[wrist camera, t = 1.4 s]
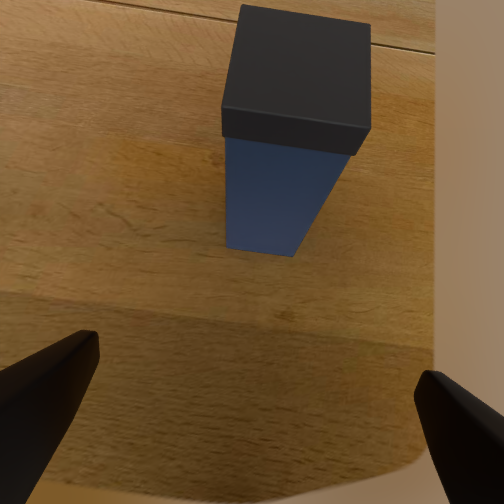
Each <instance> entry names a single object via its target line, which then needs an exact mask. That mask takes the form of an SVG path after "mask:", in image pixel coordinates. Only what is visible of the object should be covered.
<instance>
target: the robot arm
mask: <svg viewBox="0 0 504 504" xmlns="http://www.w3.org/2000/svg"><path fill="white" fill-rule="evenodd" d="M99 358H100V351H99V337H98V333H97V332H96V331H90V330H80V331H77V332H76V333H74V334H72V335H70V336H68V337H66V338H64V339H62V340H60V341H58V342H56V343H54V344H52V345H50V346H48V347H46V348H44V349H42V350H40V351H38V352H37V353H35V354H33V355H31V356H29V357H27V358H25V359H23V360H21V361H19V362H17V363H15V364H13V365H11V366H9V367H7V368H5V369H3V370H1V371H0V504H25V503H26V501H27V499H28V498H29V496H30V494H31V493H32V491H33V489H34V487H35V485H36V484H37V482H38V480H39V479H40V477H41V475H42V473H43V472H44V470H45V468H46V466H47V465H48V463H49V461H50V459H51V458H52V456H53V454H54V452H55V451H56V449H57V447H58V445H59V444H60V442H61V440H62V438H63V437H64V435H65V433H66V431H67V430H68V428H69V426H70V424H71V423H72V421H73V419H74V417H75V415H76V413H77V410H78V408H79V406H80V404H81V402H82V399H83V397H84V395H85V393H86V390H87V388H88V386H89V383H90V381H91V379H92V377H93V374H94V372H95V370H96V368H97V365H98V363H99ZM414 402H415V405H416V408H417V412H418V415H419V418H420V422H421V425H422V429H423V432H424V435H425V439H426V442H427V445H428V448H429V452H430V455H431V457H432V460H433V463H434V465H435V468H436V470H437V473H438V475H439V478H440V480H441V483H442V485H443V488H444V490H445V493H446V495H447V498H448V500H449V503H450V504H504V417H503V416H502V415H500V414H499V413H498V412H496V411H495V410H494V409H492V408H491V407H489V406H488V405H487V404H485V403H484V402H482V401H481V400H480V399H478V398H477V397H475V396H474V395H473V394H471V393H470V392H468V391H467V390H466V389H464V388H463V387H461V386H460V385H458V384H457V383H456V382H454V381H453V380H451V379H450V378H449V377H447V376H446V375H445V374H443V373H442V372H439V371H432V370H425V371H424V372H423V373H422V374H421V377H420V379H419V382H418V384H417V386H416V389H415V391H414Z"/></svg>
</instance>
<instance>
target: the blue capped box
mask: <svg viewBox="0 0 504 504" xmlns="http://www.w3.org/2000/svg"><path fill="white" fill-rule="evenodd" d="M221 115H222V136H223V137H225V177H226V247H227V248H231V249H238V250H246V251H253V252H260V253H267V254H275V255H282V256H289V257H293V256H294V254H295V252H296V250H297V249H298V247H299V245H300V243H301V242H302V240H303V238H304V237H305V235H306V233H307V231H308V230H309V228H310V226H311V224H312V223H313V221H314V219H315V218H316V216H317V214H318V212H319V211H320V209H321V207H322V205H323V204H324V202H325V200H326V198H327V197H328V195H329V193H330V192H331V190H332V188H333V186H334V185H335V183H336V181H337V179H338V178H339V176H340V174H341V173H342V171H343V169H344V167H345V166H346V164H347V162H348V160H349V159H350V157H351V156H355V155H356V153H357V152H358V150H359V148H360V146H361V145H362V143H363V141H364V140H365V138H366V136H367V135H368V133H369V131H370V130H371V25H370V24H367V23H360V22H354V21H348V20H341V19H335V18H328V17H322V16H315V15H309V14H303V13H296V12H290V11H283V10H277V9H271V8H264V7H258V6H251V5H245V4H242V5H241V8H240V13H239V18H238V23H237V28H236V33H235V38H234V43H233V49H232V54H231V59H230V64H229V69H228V74H227V79H226V84H225V90H224V95H223V100H222V105H221Z"/></svg>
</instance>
